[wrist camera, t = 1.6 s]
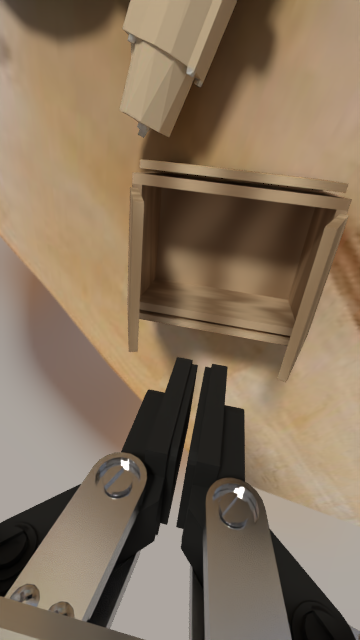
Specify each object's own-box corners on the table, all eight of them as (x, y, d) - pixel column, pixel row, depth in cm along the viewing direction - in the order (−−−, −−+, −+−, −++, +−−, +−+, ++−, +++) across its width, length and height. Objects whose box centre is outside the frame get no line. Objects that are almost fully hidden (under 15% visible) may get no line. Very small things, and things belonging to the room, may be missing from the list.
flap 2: (300, 332, 27) (277, 378, 20) (339, 214, 22) (325, 226, 16) (307, 334, 27) (285, 382, 20) (348, 215, 22) (337, 229, 16)
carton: (330, 180, 29) (357, 184, 22) (289, 313, 35) (301, 349, 28) (157, 160, 31) (132, 158, 24) (149, 290, 37) (128, 317, 30)
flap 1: (138, 188, 24) (144, 202, 17) (133, 303, 29) (137, 351, 22) (130, 187, 24) (133, 201, 17) (127, 303, 28) (128, 351, 22)
